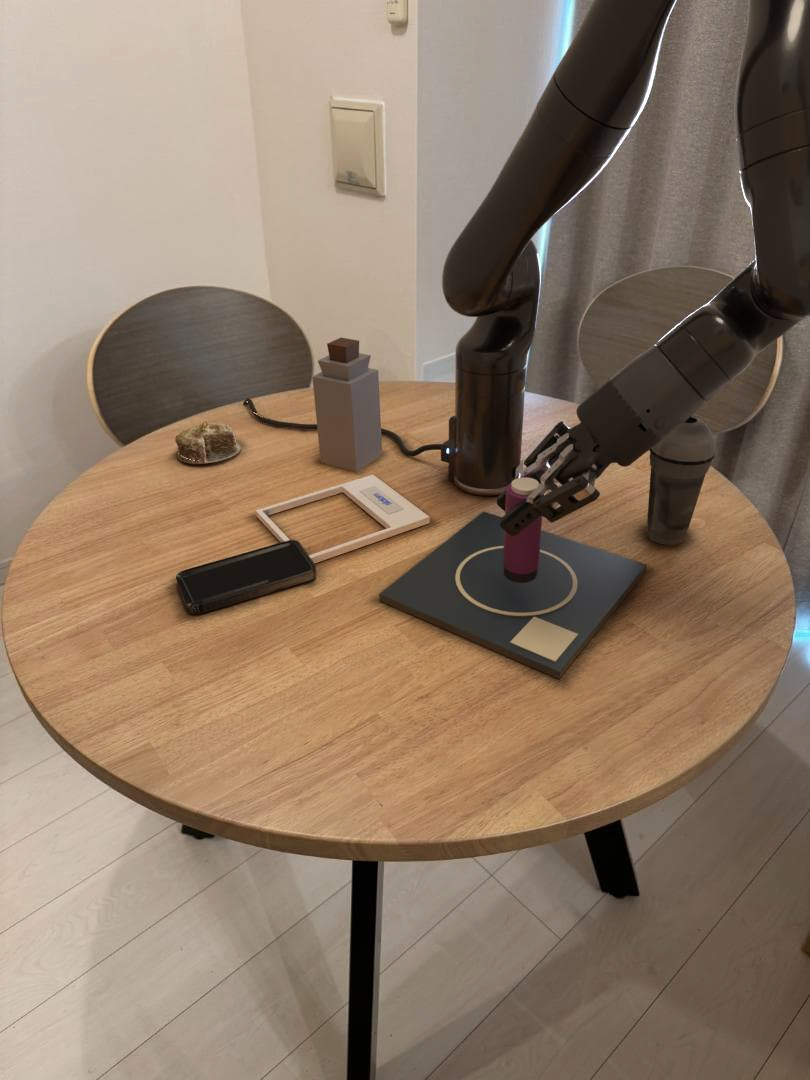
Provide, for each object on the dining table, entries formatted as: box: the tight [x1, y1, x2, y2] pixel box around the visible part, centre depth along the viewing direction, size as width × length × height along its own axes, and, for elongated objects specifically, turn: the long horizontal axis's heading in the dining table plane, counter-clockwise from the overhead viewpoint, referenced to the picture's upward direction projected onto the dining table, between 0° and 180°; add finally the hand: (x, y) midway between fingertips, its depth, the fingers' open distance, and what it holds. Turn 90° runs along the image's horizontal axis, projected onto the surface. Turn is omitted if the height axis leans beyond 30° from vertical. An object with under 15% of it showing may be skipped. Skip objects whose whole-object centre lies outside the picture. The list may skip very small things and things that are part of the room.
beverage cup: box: [646, 415, 715, 546], centre depth 86 cm, size 7×7×20 cm
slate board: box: [378, 511, 648, 680], centre depth 83 cm, size 22×22×1 cm
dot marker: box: [503, 477, 545, 583], centre depth 77 cm, size 4×4×11 cm
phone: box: [175, 539, 317, 616], centre depth 85 cm, size 8×1×15 cm
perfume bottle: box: [311, 337, 383, 473], centre depth 108 cm, size 7×7×18 cm
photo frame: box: [255, 474, 431, 564], centre depth 97 cm, size 15×1×18 cm
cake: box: [174, 421, 242, 465], centre depth 115 cm, size 10×10×5 cm
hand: (504, 517), depth 76 cm, fingers closed on dot marker, 3 cm apart
